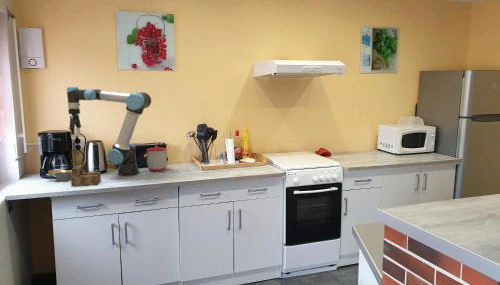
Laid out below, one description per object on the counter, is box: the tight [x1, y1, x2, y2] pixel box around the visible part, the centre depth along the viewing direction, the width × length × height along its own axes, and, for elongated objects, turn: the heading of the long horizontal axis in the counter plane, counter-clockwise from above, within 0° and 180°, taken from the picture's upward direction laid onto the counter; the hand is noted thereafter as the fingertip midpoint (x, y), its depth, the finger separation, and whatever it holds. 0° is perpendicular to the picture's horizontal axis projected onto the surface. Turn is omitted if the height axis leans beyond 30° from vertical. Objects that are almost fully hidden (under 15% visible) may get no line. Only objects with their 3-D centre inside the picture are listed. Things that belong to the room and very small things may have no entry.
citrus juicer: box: [143, 145, 168, 173], centre depth 290 cm, size 16×17×20 cm
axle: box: [47, 169, 72, 177], centre depth 260 cm, size 16×4×4 cm, turn 101°
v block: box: [55, 172, 71, 183], centre depth 260 cm, size 8×8×6 cm
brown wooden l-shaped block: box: [70, 164, 102, 187], centre depth 251 cm, size 16×12×12 cm
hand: (76, 137), depth 269 cm, fingers open, 13 cm apart
